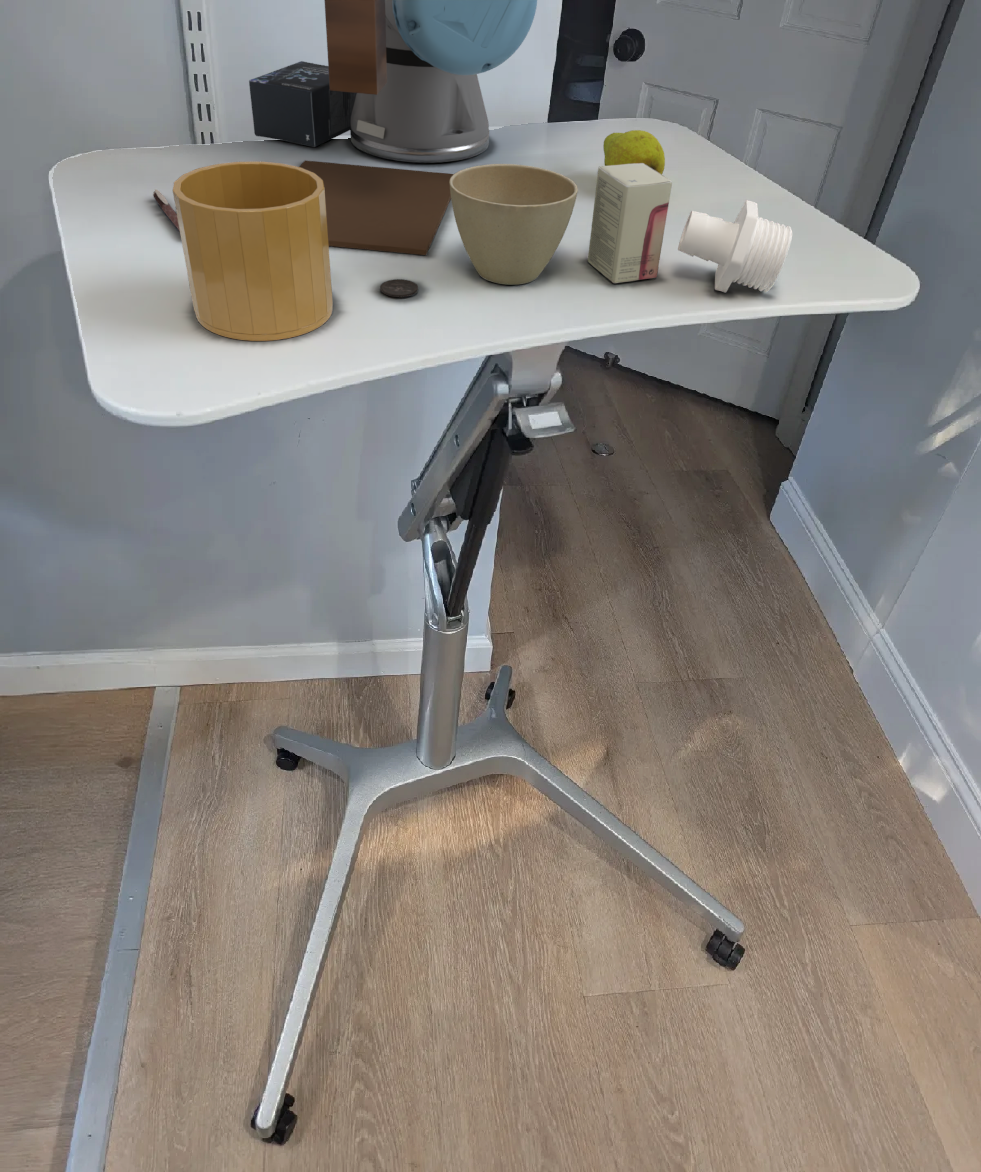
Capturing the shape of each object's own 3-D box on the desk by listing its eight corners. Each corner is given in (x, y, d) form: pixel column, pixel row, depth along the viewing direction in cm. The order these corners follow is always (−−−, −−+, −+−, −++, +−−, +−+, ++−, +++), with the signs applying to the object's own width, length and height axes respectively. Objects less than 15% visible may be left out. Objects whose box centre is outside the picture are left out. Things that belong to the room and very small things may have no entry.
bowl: (591, 286, 73) (603, 195, 68) (484, 307, 69) (489, 213, 65) (528, 242, 80) (534, 156, 75) (427, 259, 76) (427, 170, 71)
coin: (409, 300, 69) (423, 284, 72) (409, 297, 69) (423, 282, 71) (374, 294, 70) (389, 278, 72) (373, 291, 70) (388, 276, 72)
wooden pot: (222, 276, 71) (203, 155, 65) (346, 288, 71) (339, 168, 65) (174, 333, 64) (149, 203, 58) (313, 347, 63) (301, 217, 57)
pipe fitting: (672, 252, 77) (760, 280, 77) (668, 284, 72) (763, 314, 72) (700, 177, 73) (794, 207, 73) (698, 205, 68) (799, 237, 68)
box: (361, 69, 100) (311, 91, 92) (363, 125, 104) (315, 150, 96) (300, 59, 102) (246, 79, 94) (304, 113, 106) (253, 137, 98)
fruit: (612, 190, 87) (562, 154, 95) (657, 211, 90) (605, 175, 98) (642, 129, 84) (588, 98, 92) (687, 154, 87) (631, 121, 95)
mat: (305, 165, 92) (304, 160, 92) (459, 179, 91) (459, 174, 91) (242, 237, 77) (241, 232, 77) (426, 255, 76) (426, 249, 76)
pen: (151, 197, 83) (149, 186, 82) (160, 197, 83) (158, 185, 82) (185, 242, 75) (182, 230, 75) (194, 240, 76) (192, 228, 75)
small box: (658, 279, 75) (675, 181, 70) (612, 285, 74) (627, 185, 68) (629, 256, 78) (643, 160, 73) (585, 261, 77) (596, 164, 72)
